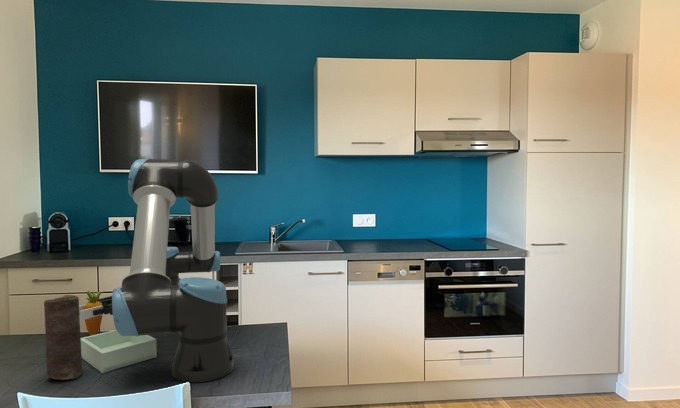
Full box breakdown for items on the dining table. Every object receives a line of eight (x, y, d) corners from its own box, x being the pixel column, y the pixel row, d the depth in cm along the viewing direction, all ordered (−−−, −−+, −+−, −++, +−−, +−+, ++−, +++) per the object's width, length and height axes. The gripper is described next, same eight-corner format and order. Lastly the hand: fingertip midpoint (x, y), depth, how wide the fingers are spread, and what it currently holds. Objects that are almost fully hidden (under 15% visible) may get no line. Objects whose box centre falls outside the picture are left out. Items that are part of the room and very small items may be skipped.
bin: (156, 356, 121) (156, 339, 121) (102, 373, 111) (102, 353, 111) (130, 342, 132) (130, 326, 132) (79, 356, 121) (79, 338, 121)
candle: (46, 386, 103) (44, 302, 103) (45, 375, 109) (43, 295, 109) (84, 378, 108) (82, 297, 107) (80, 368, 114) (79, 291, 113)
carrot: (106, 336, 138) (105, 288, 137) (96, 341, 133) (95, 292, 132) (91, 335, 138) (90, 288, 137) (80, 341, 133) (79, 291, 132)
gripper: (162, 311, 147) (94, 331, 126) (127, 304, 155) (58, 321, 135) (161, 288, 146) (93, 305, 126) (127, 282, 155) (58, 297, 134)
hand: (75, 314), depth 130 cm, fingers closed on carrot, 5 cm apart
